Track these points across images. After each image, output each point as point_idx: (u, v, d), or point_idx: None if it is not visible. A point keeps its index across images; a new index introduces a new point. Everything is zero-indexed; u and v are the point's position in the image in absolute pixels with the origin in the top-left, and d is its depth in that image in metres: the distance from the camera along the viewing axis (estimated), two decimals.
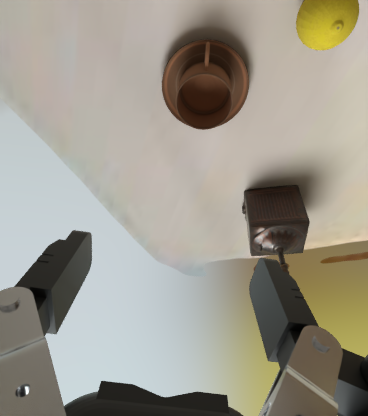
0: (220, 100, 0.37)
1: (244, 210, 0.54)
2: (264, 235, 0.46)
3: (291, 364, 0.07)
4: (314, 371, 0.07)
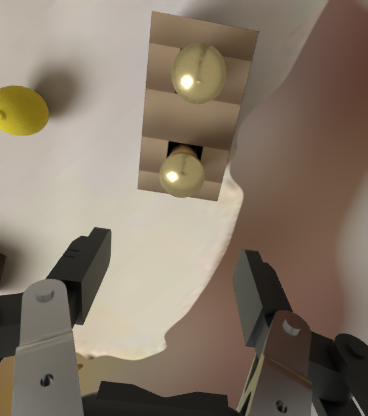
0: None
1: None
2: None
3: (267, 351, 0.07)
4: (288, 354, 0.07)
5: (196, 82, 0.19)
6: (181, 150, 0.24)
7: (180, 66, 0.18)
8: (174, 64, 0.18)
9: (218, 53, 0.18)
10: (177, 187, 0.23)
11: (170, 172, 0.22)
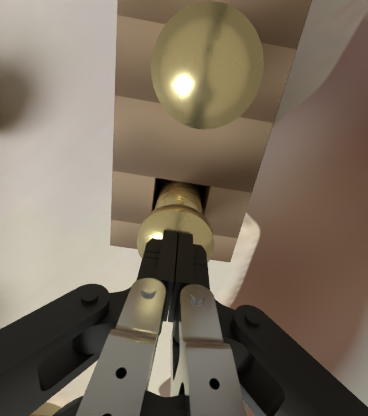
0: None
1: None
2: None
3: (185, 334, 0.07)
4: (202, 327, 0.08)
5: (202, 87, 0.09)
6: (175, 193, 0.15)
7: (169, 54, 0.09)
8: (156, 50, 0.09)
9: (249, 26, 0.08)
10: None
11: None
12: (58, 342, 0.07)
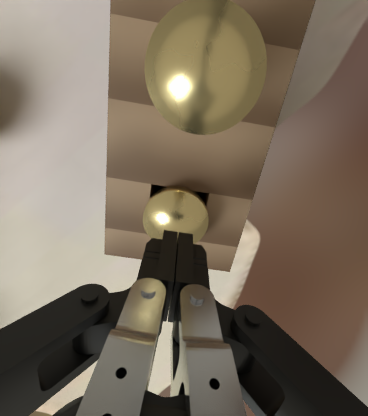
0: None
1: None
2: None
3: (184, 334, 0.07)
4: (202, 327, 0.08)
5: (199, 89, 0.09)
6: None
7: (164, 53, 0.08)
8: (150, 49, 0.08)
9: (251, 23, 0.08)
10: None
11: (158, 215, 0.15)
12: (58, 342, 0.07)
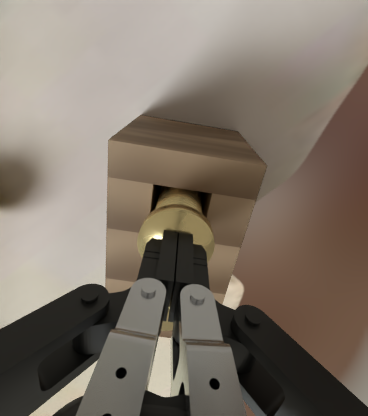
0: None
1: None
2: None
3: (185, 334, 0.07)
4: (202, 327, 0.08)
5: None
6: None
7: (149, 236, 0.13)
8: (140, 234, 0.13)
9: (202, 224, 0.12)
10: None
11: None
12: (58, 342, 0.07)
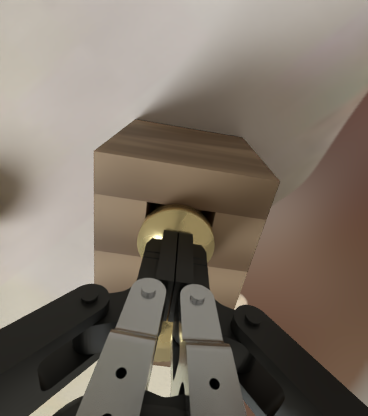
0: None
1: None
2: None
3: (185, 334, 0.07)
4: (202, 327, 0.08)
5: None
6: None
7: (149, 237, 0.13)
8: (140, 234, 0.13)
9: (202, 224, 0.12)
10: None
11: None
12: (58, 342, 0.07)
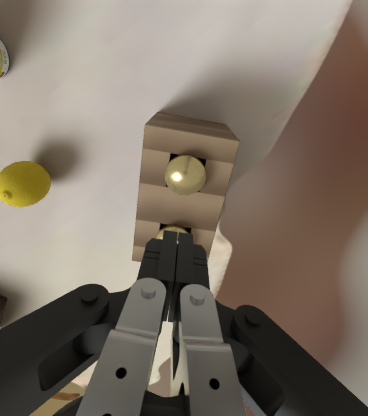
0: None
1: None
2: None
3: (184, 334, 0.07)
4: (202, 327, 0.08)
5: (183, 181, 0.25)
6: None
7: (171, 171, 0.24)
8: (167, 169, 0.24)
9: (199, 163, 0.24)
10: None
11: None
12: (58, 342, 0.07)
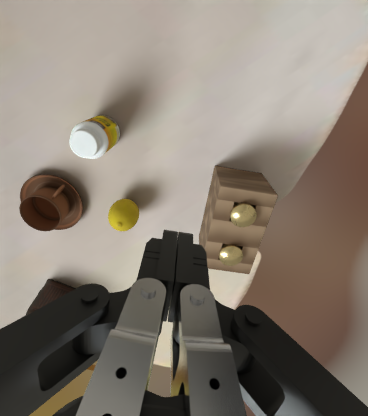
0: (59, 215, 0.52)
1: None
2: None
3: (184, 334, 0.07)
4: (202, 327, 0.08)
5: (242, 219, 0.40)
6: None
7: (235, 213, 0.39)
8: (232, 212, 0.39)
9: (253, 208, 0.39)
10: (228, 261, 0.44)
11: (225, 254, 0.43)
12: (58, 342, 0.07)
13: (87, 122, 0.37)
